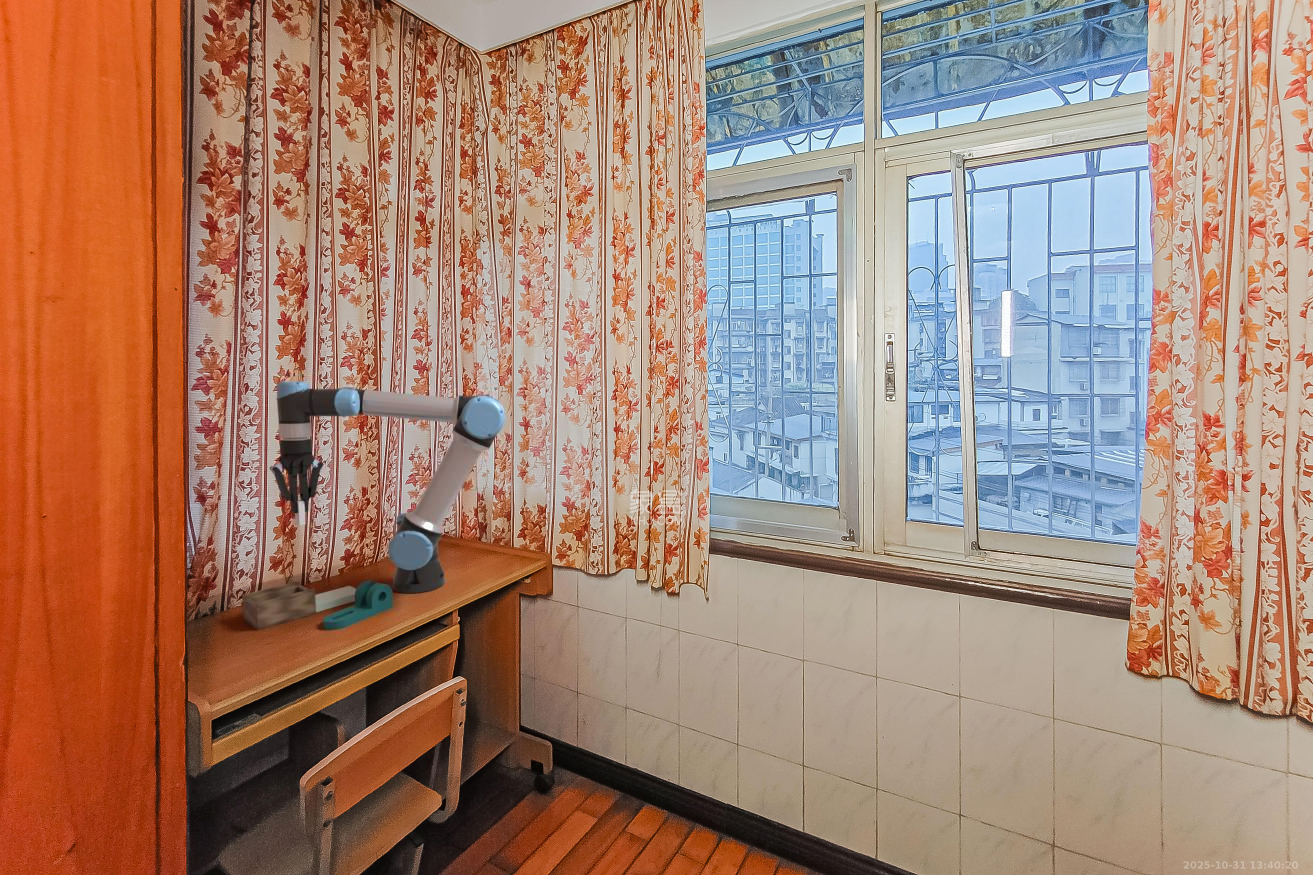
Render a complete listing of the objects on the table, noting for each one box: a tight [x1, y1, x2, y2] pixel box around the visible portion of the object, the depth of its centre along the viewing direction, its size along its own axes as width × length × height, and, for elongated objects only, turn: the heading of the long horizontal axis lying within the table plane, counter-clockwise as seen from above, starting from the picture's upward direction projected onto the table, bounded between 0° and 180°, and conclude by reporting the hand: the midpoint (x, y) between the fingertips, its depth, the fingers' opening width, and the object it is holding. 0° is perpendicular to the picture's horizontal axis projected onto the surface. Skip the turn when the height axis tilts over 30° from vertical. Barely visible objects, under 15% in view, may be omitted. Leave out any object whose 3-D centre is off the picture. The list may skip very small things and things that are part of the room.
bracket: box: [322, 580, 394, 631], centre depth 162 cm, size 18×7×8 cm, turn 155°
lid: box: [315, 585, 357, 613], centre depth 173 cm, size 13×8×2 cm, turn 142°
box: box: [241, 580, 317, 631], centre depth 161 cm, size 14×10×7 cm
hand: (300, 524), depth 164 cm, fingers closed
